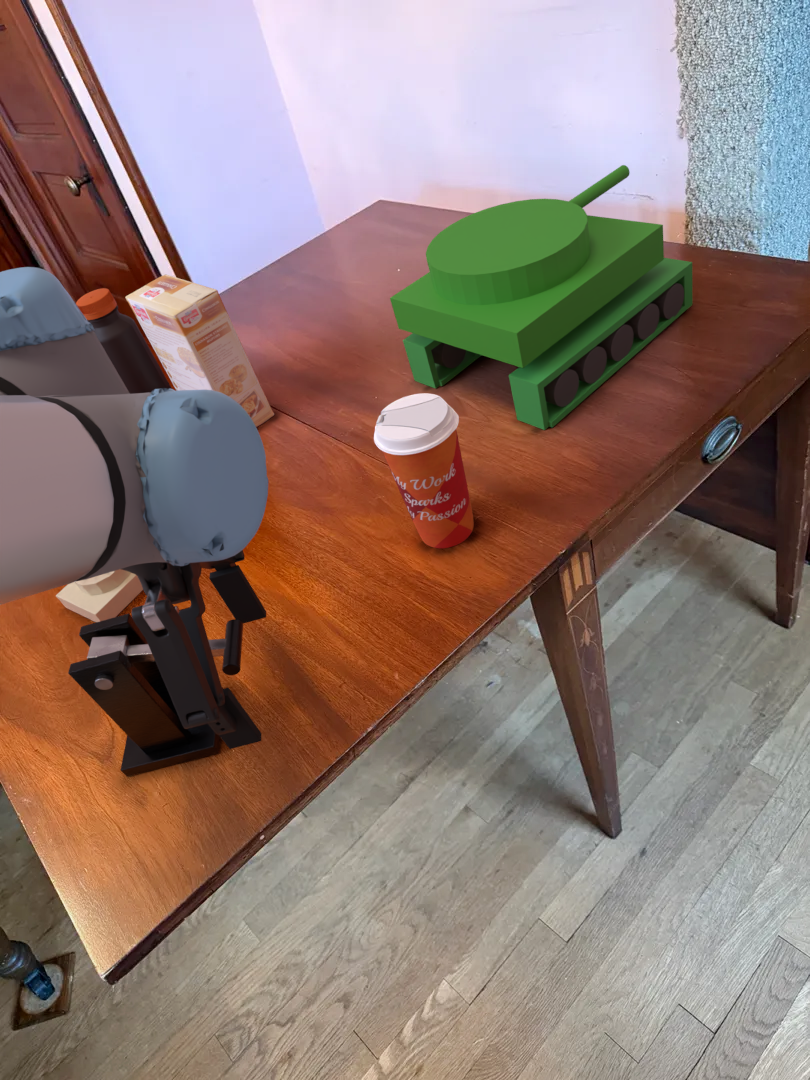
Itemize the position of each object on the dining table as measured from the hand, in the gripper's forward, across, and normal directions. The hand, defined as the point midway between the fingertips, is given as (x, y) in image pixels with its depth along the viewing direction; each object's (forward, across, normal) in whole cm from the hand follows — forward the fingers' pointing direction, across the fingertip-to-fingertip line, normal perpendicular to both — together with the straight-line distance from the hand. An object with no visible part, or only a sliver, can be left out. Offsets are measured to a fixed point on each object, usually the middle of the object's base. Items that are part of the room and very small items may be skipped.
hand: (249, 675), depth 66 cm
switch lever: (-4, 0, +5) cm, 7 cm away
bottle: (+5, +61, +20) cm, 64 cm away
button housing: (+5, +23, +20) cm, 31 cm away
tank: (+5, +49, -41) cm, 64 cm away
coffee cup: (+5, +17, -20) cm, 27 cm away
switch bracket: (+5, 0, +9) cm, 11 cm away
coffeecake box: (+5, +55, +8) cm, 56 cm away
